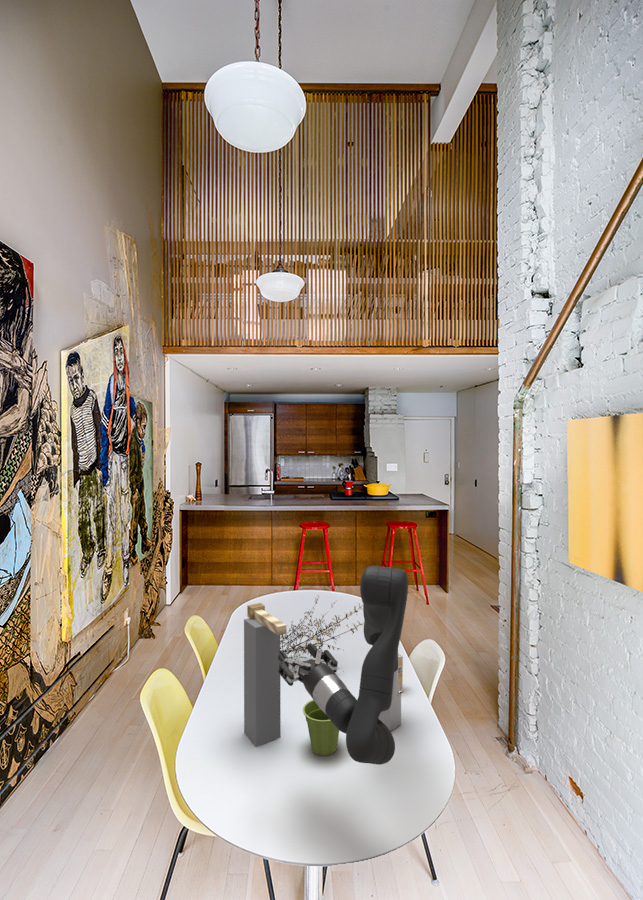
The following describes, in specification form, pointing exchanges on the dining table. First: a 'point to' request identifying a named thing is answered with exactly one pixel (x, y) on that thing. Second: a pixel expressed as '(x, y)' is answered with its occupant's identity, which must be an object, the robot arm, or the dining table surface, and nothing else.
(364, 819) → the dining table surface
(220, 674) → the dining table surface
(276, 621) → the hanging bar
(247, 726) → the plinth
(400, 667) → the supplement box
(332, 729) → the plant pot
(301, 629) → the dried plant
